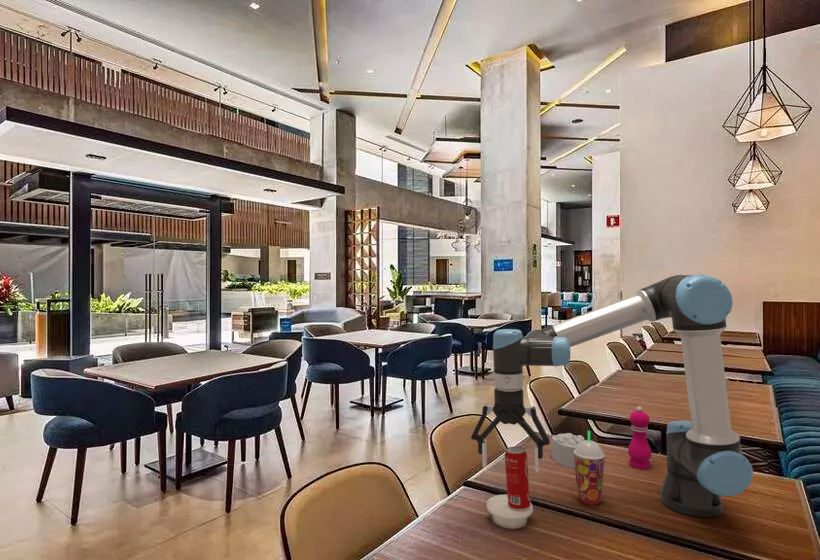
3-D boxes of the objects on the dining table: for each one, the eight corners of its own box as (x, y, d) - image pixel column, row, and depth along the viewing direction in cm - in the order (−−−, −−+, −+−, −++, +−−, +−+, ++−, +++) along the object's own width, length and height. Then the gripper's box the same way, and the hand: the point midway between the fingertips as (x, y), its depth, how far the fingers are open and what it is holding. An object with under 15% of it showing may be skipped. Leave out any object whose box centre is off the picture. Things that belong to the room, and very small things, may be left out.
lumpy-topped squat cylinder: (574, 453, 175) (574, 429, 174) (595, 467, 162) (595, 441, 162) (548, 456, 172) (548, 432, 172) (567, 470, 160) (567, 444, 160)
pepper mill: (655, 470, 159) (655, 409, 159) (633, 470, 159) (633, 409, 159) (645, 461, 166) (645, 403, 166) (624, 461, 166) (624, 403, 166)
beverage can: (531, 512, 124) (531, 454, 124) (506, 511, 124) (505, 453, 124) (528, 501, 130) (528, 445, 129) (504, 500, 130) (503, 445, 130)
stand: (533, 511, 132) (533, 497, 132) (531, 534, 120) (531, 518, 120) (489, 506, 135) (489, 492, 135) (483, 527, 124) (483, 512, 124)
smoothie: (582, 491, 144) (581, 424, 144) (610, 500, 138) (609, 431, 138) (568, 500, 138) (568, 431, 138) (597, 510, 132) (596, 438, 132)
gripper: (459, 389, 127) (461, 469, 128) (557, 393, 120) (559, 478, 120) (464, 383, 135) (466, 458, 135) (557, 386, 127) (559, 466, 128)
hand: (510, 468), depth 128 cm, fingers open, 13 cm apart
